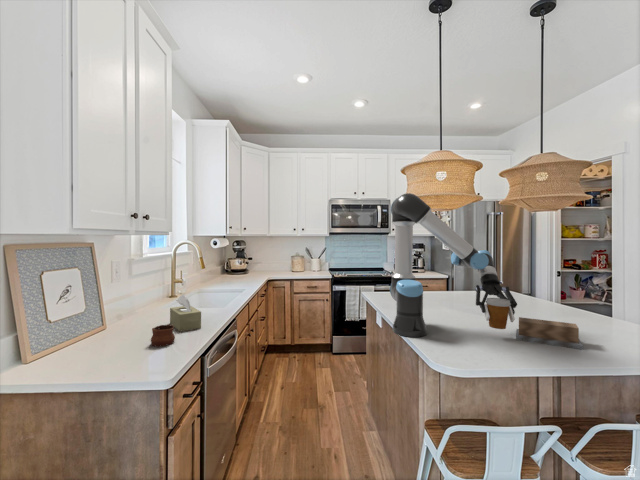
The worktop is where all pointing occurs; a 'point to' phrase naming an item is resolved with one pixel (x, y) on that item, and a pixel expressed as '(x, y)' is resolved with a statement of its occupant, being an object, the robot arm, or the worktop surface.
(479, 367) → the worktop surface
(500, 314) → the disposable coffee cup
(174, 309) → the tissue box
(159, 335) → the ceramic pot
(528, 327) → the stand
